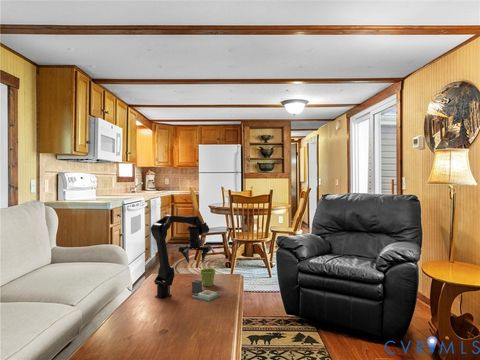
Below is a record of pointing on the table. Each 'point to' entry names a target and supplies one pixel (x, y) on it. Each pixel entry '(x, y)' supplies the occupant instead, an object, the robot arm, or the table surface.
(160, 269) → the robot arm
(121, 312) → the table surface
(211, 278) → the plant pot
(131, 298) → the table surface
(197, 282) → the plug
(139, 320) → the table surface
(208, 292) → the board
